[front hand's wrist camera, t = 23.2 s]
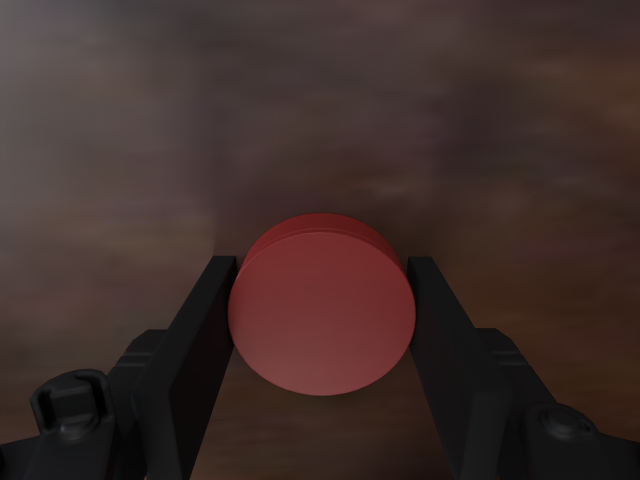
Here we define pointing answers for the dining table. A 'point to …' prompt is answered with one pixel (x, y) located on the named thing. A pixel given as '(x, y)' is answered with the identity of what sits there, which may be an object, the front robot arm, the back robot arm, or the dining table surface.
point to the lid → (321, 305)
